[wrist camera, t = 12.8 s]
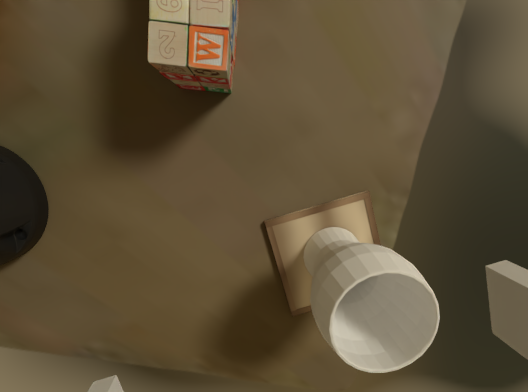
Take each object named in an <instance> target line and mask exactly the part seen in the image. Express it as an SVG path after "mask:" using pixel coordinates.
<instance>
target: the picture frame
mask: <svg viewBox="0 0 528 392" xmlns="http://www.w3.org/2000/svg"><path fill="white" fill-rule="evenodd" d="M264 222H265V225H266V229H267V232H268V236H269V239H270V242H271V246H272V249H273V253H274V256H275V259H276V263H277V266H278V270H279V273H280V276H281V280H282V283H283V287H284V290H285V293H286V297H287V300H288V304H289V307H290V310H291V314H292V317H293V316H296V315H299V314H303V313H306V312H310V311H312V309H311V303H310V296H311V285H312V278H313V276H312V275H311V274H310V273H309V272H308V270H307V268H306V266H305V263H304V258H303V257H304V249H305V247H306V244H307V242H308V241H309V239H310V238H311V237H312V236H313V235H314V234H315V233H317V232H318V231H320V230H322V229H325V228H329V227H340V228H343V229H346V230H348V231H349V232H351V233H352V234H353V235H354V236H355V237H356V238H357V240H358V241H359V242H360V243H370V244H376V245H380V246H381V244H380V240H379V235H378V230H377V226H376V221H375V216H374V212H373V207H372V202H371V198H370V193H369V191H364V192H361V193H357V194H354V195H351V196H347V197H344V198H340V199H337V200H333V201H330V202H327V203H323V204H320V205H316V206H313V207H309V208H306V209H303V210H299V211H296V212H292V213H289V214H286V215H282V216H279V217H275V218H272V219H268V220H265V221H264Z"/></svg>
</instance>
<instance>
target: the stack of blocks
mask: <svg viewBox="0 0 528 392" xmlns="http://www.w3.org/2000/svg"><path fill="white" fill-rule="evenodd" d="M149 19H150V21H149V24H148V62H149V63H150V64H151V65H152V66H154V67H155V68H156V69H158V70H159V73H160V74H161V75H163V76H164V77H166V78H167V79H169V80H171V81H172V82H173V83H175V85H177V86H178V87H179V88H182V89H192V90H202V91H214V92H223V93H232V82H233V69H234V65H235V51H236V38H237V26H238V0H149Z"/></svg>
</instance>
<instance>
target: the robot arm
mask: <svg viewBox="0 0 528 392" xmlns="http://www.w3.org/2000/svg"><path fill="white" fill-rule="evenodd" d="M47 219H48V201H47V196H46V193H45V190H44V187H43V185H42V183H41V181H40V179H39V177H38V176H37V174H36V173H35V172H34V170H33V169H32V168H31V167H30V166H29V165H28V164H27V163H26V162H25V161H24V160H23V159H22V158H21V157H19V156H18V155H17V154H15V153H14V152H12V151H10V150H9V149H7V148H5V147H2V146H0V265H2V264H4V263H7V262H9V261H11V260H13V259H15V258H17V257H19V256H21V255H23V254H24V253H26V252H27V251H29V250H30V249H31V248H32V247H33V246H34V245H35V244H36V243H37V242H38V240H39V239H40V238H41V236H42V234H43V232H44V230H45V227H46V224H47ZM486 276H487V286H488V295H489V305H490V314H491V324H492V333H493V334H495V335H496V336H497V337H499V338H500V339H501V340H503V341H504V342H505V343H506V344H508V345H509V346H511V347H512V348H513V349H515V350H516V351H517V352H518V353H520V354H521V355H522V356H524V357H525V358H526V359H527V360H528V270H527V269H524V268H522V267H520V266H518V265H516V264H513V263H511V262H509V261H507V260H505V261H501V262H497V263H494V264H491V265H487V266H486ZM88 392H124V391H123V389H122V387H121V385H120V383H119V381H118V378H117V376H116V375H114V376H111V377H108V378H105V379H101V380H97V381H94V382H93V383H92V385H91V387H90V388H89V390H88Z"/></svg>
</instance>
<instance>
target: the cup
mask: <svg viewBox="0 0 528 392" xmlns="http://www.w3.org/2000/svg"><path fill="white" fill-rule="evenodd" d="M303 258H304V263H305V266H306V268H307V270H308V272H309V273H310V274H311V275H312V276H313V278H312V285H311V296H310V303H311V309H312V314H313V316H314V319H315V322H316V324H317V327H318V329H319V330H320V332H321V334H322V336H323V338H324V339H325V340H326V342H327V343H328V344H329V345H330V346H331V347H332V349H333V350H334V351H335V352H336V353H337V354H338V355H339V356H340V357H341V359H342V360H343V361H344V362H345V363H347V364H349V365H351V366H352V367H354V368H356V369H358V370H362V371H366V372H371V373H385V372H390V371H394V370H398V369H400V368H403V367H405V366H407V365H409V364H411V363H412V362H414V361H415V360H416V359H417V358H419V357H420V356H421V355H422V354H423V353H424V352H425V351H426V350H427V348H428V347H429V346H430V345H431V343H432V341H433V339H434V337H435V335H436V332H437V330H438V324H439V319H440V317H439V305H438V302H437V299H436V297H435V295H434V292H433V291H432V289H431V288H430V286H429V285H428V283H427V282H426V281H425V280H424V278H423V276H422V275H421V274H420V272H419V271H418V270H417V269H416V268H415V266H414V265H413V264H411V263H410V262H409V261H407V260H406V259H405V258H403V257H402V256H400V255H399V254H397V253H396V252H394V251H393V250H391V249H389V248H386V247H383V246H380V245H376V244H370V243H360V242H359V241H358V240H357V238H356V237H355V236H354V235H353V234H352V233H351V232H349V231H348V230H346V229H343V228H340V227H329V228H325V229H322V230H320V231H318V232H317V233H315V234H314V235H313V236H312V237H311V238H310V239H309V241H308V242H307V244H306V247H305V249H304V257H303Z"/></svg>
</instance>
